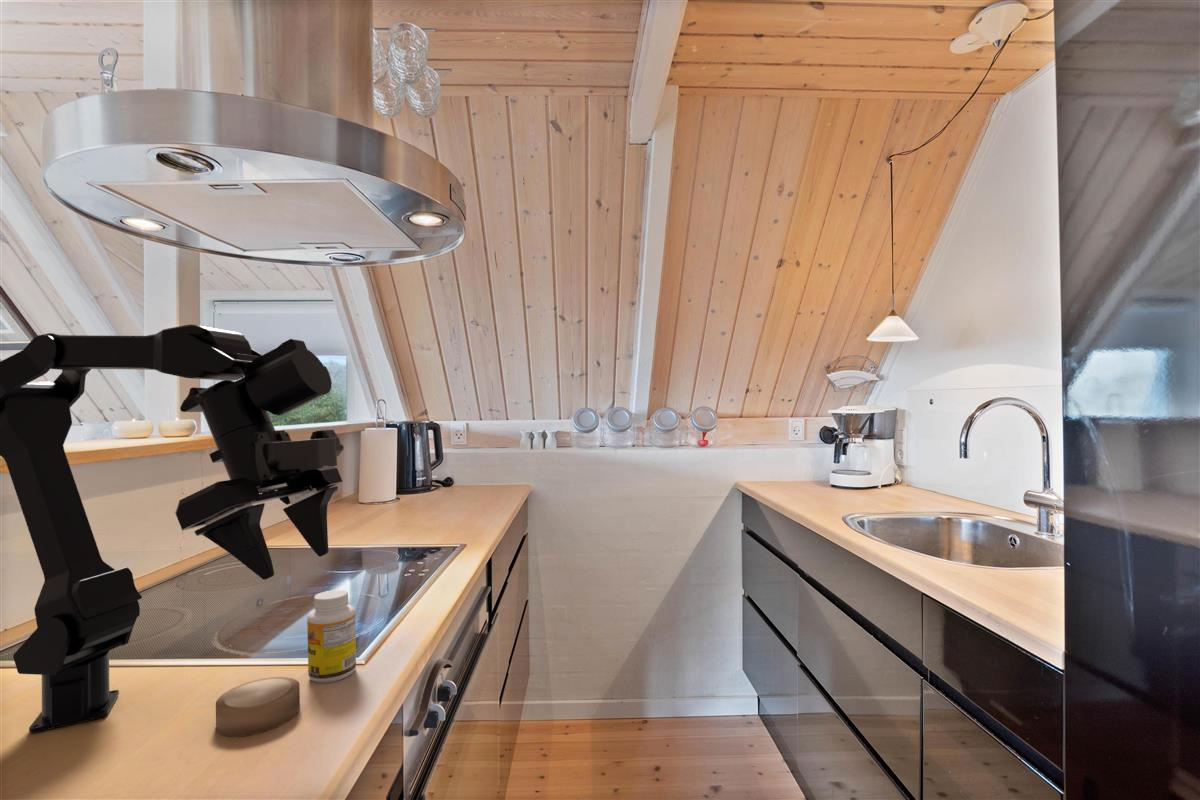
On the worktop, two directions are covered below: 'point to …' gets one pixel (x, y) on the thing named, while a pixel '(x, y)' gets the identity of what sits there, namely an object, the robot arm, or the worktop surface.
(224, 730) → the walnut stand
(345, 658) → the supplement bottle
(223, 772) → the worktop surface
